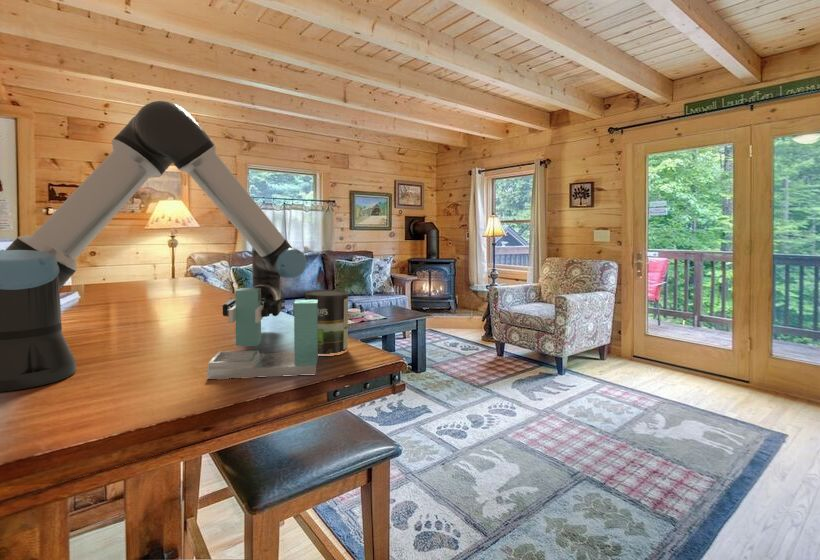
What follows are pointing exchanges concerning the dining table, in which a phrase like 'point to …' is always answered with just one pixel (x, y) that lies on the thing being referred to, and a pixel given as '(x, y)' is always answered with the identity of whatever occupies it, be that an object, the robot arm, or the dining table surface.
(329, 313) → the coffee can
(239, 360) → the grey base with post
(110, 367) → the dining table surface
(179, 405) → the dining table surface
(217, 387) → the dining table surface
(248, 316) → the mint green block
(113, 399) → the dining table surface
